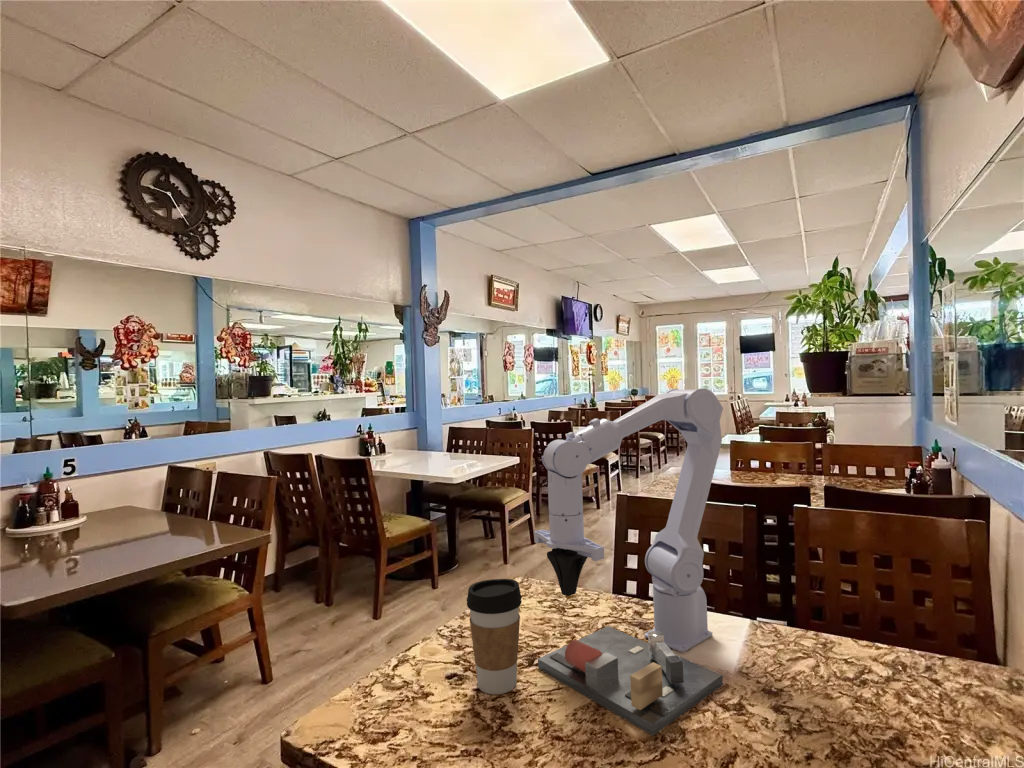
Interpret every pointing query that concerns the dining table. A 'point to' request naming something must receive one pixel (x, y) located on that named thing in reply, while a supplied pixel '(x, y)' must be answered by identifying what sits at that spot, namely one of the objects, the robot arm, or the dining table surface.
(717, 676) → the panel
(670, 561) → the robot arm
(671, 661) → the lever
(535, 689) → the dining table surface
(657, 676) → the paddle
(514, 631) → the coffee cup
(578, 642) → the red short cylinder
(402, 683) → the dining table surface
